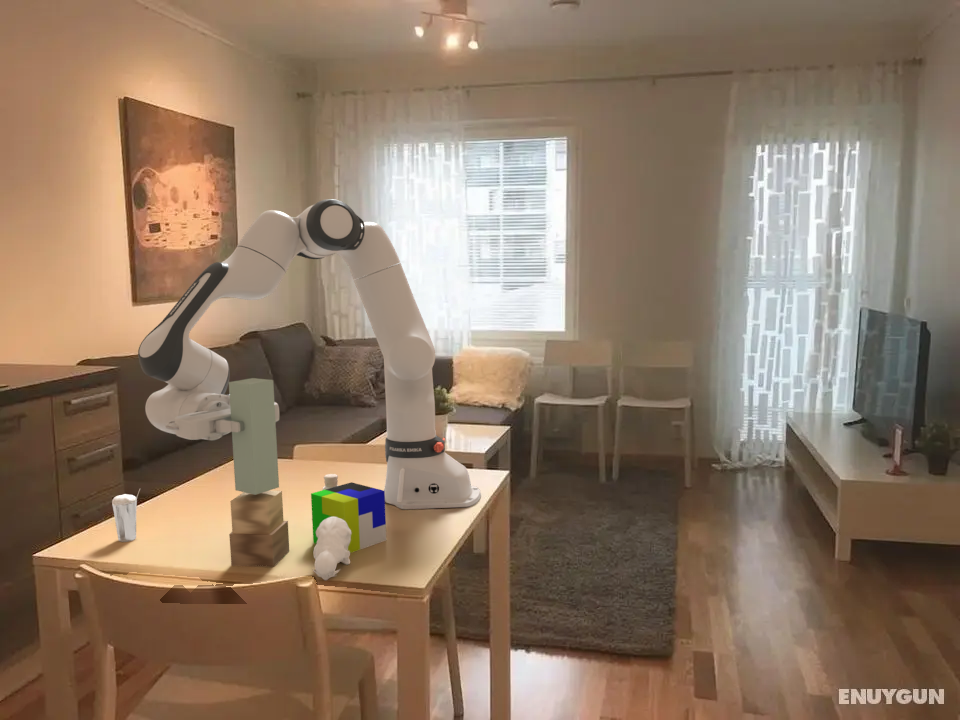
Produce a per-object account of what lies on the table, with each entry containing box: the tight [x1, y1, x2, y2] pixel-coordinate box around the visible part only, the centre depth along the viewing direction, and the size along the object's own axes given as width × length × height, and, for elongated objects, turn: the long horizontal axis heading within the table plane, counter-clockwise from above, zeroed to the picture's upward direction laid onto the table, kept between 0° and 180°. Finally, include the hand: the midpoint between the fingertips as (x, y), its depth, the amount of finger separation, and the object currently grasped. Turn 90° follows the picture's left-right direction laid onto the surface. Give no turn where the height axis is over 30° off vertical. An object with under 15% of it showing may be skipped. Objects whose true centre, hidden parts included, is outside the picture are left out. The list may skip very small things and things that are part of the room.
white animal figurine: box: [312, 517, 351, 581], centre depth 146 cm, size 6×8×12 cm
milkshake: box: [111, 488, 141, 543], centre depth 165 cm, size 4×5×10 cm
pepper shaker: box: [321, 473, 339, 491], centre depth 169 cm, size 5×5×11 cm
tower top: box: [230, 490, 285, 534], centre depth 152 cm, size 7×7×6 cm
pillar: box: [228, 377, 280, 495], centre depth 151 cm, size 6×6×20 cm
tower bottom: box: [229, 520, 290, 568], centre depth 153 cm, size 8×8×6 cm
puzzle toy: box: [310, 481, 387, 554], centre depth 161 cm, size 10×10×10 cm
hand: (256, 423), depth 150 cm, fingers open, 6 cm apart
